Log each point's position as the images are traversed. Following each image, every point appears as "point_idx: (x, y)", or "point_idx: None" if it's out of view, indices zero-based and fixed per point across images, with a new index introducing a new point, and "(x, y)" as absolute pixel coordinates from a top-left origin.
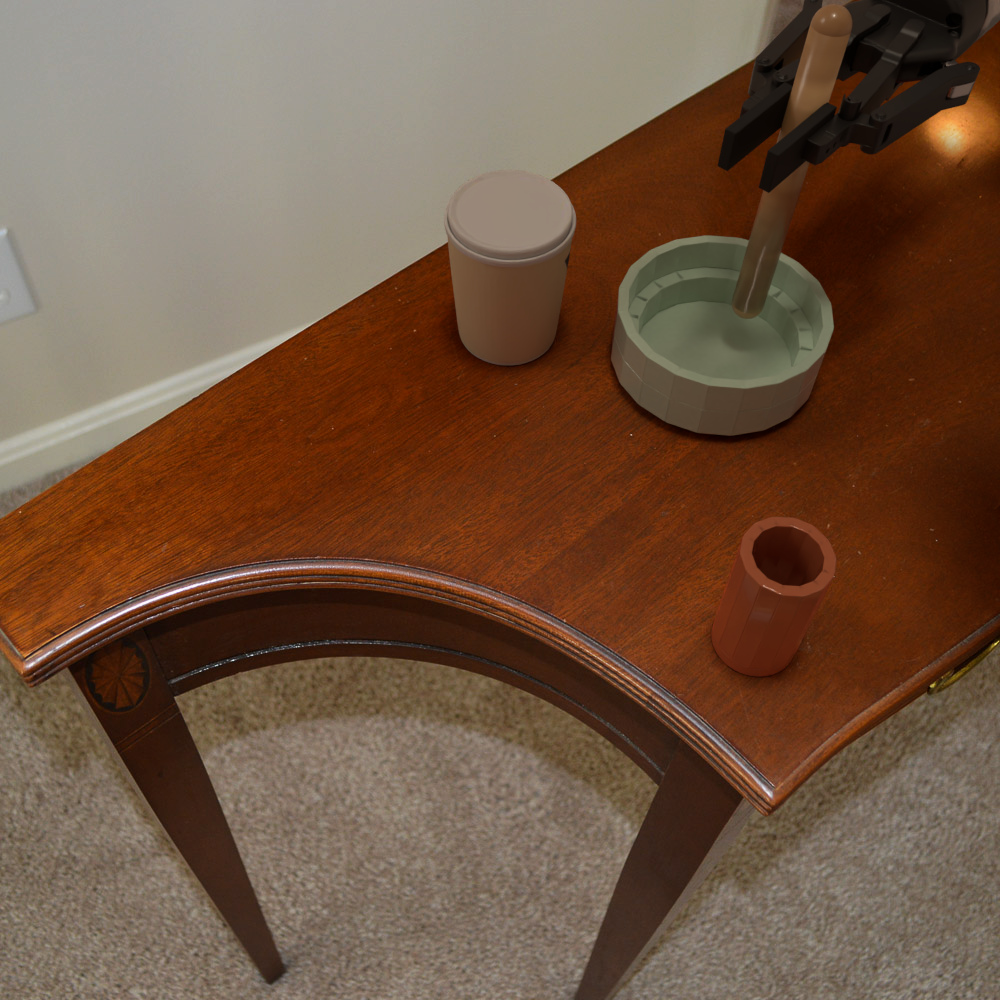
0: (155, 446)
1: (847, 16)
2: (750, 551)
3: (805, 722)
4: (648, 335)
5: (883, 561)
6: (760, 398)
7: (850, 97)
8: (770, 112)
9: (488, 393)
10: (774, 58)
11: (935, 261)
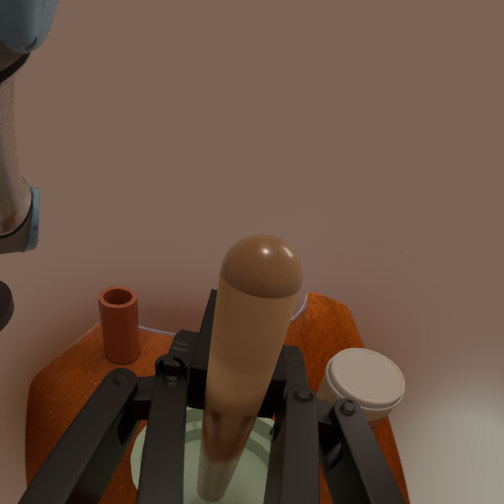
0: (353, 331)
1: (239, 243)
2: (132, 294)
3: (98, 333)
4: (263, 474)
5: (74, 395)
6: None
7: (175, 364)
8: None
9: None
10: (342, 420)
11: None
